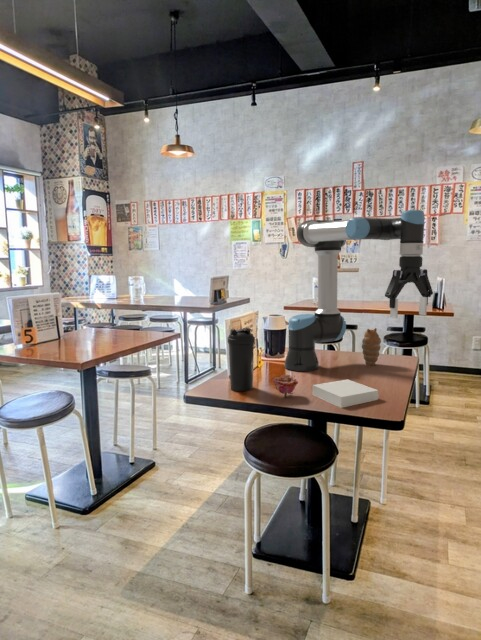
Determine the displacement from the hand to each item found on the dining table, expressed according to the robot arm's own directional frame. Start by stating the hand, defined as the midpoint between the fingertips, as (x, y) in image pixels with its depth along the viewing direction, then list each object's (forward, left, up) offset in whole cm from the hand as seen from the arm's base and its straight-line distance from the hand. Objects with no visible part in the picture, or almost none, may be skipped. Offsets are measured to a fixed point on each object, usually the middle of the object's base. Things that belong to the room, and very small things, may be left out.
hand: (408, 316), depth 160 cm
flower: (-18, -40, -28) cm, 52 cm away
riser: (-6, -23, -28) cm, 37 cm away
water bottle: (-35, -49, -28) cm, 67 cm away
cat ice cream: (-35, +16, -28) cm, 48 cm away
